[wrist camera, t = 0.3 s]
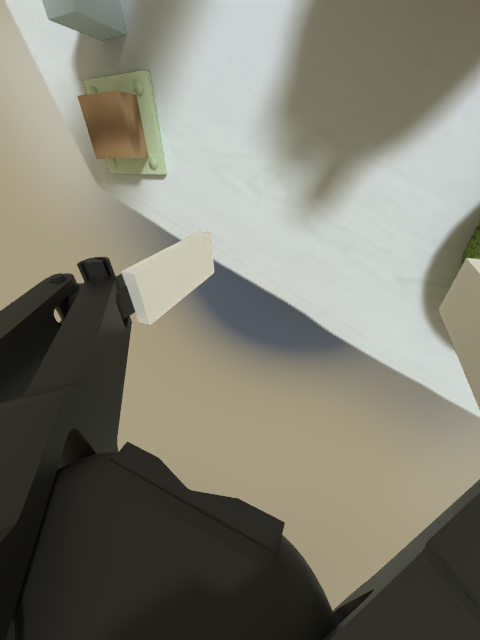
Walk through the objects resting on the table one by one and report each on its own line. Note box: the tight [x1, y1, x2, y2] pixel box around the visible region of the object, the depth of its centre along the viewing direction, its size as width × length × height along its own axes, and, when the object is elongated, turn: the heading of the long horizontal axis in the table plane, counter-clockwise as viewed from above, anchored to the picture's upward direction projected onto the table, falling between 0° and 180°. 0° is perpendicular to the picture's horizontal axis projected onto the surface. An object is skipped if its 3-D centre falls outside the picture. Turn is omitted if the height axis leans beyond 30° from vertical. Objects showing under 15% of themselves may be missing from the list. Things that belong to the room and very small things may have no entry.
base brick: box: [78, 91, 149, 159], centre depth 39 cm, size 8×8×4 cm
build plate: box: [83, 70, 167, 174], centre depth 41 cm, size 13×13×1 cm
